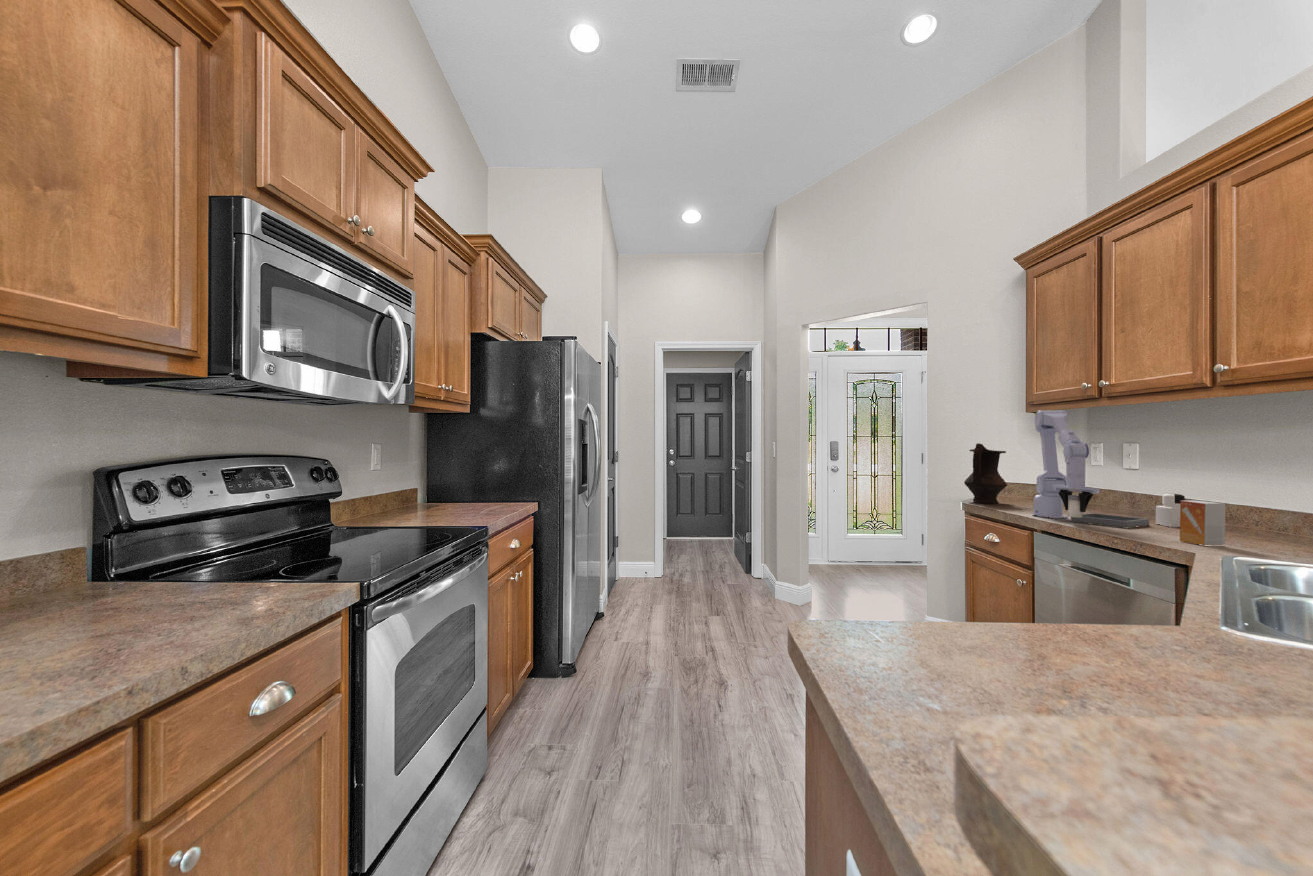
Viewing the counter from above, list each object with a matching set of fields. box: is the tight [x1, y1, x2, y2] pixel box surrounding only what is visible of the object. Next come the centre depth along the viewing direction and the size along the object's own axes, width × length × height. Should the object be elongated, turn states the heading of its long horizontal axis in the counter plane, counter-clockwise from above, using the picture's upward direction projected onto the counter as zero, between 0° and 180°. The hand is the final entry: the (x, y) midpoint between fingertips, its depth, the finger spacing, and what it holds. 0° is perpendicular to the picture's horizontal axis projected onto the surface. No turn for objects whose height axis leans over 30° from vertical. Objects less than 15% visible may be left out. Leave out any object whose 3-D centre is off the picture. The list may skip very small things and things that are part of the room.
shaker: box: [1067, 494, 1084, 518], centre depth 205 cm, size 5×5×8 cm
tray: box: [1070, 512, 1150, 529], centre depth 208 cm, size 18×16×2 cm
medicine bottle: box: [1155, 493, 1186, 528], centre depth 204 cm, size 7×7×12 cm
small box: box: [1179, 499, 1226, 545], centre depth 168 cm, size 8×6×13 cm
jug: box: [963, 442, 1008, 505], centre depth 274 cm, size 21×18×30 cm
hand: (1075, 511), depth 205 cm, fingers closed on shaker, 4 cm apart
